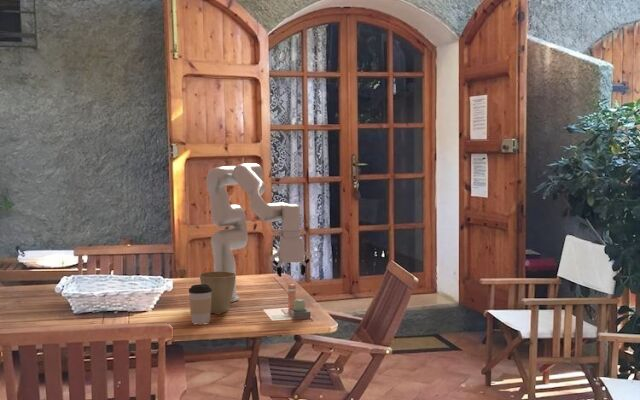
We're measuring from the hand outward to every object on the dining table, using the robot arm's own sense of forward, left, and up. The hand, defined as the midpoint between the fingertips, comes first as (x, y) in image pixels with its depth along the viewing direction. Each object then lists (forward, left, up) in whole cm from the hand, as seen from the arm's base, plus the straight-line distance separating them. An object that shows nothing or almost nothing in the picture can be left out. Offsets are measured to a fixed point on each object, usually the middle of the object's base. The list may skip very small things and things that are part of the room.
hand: (291, 275), depth 307 cm
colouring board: (-3, -3, -16) cm, 16 cm away
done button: (+1, -10, -13) cm, 17 cm away
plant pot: (-29, +11, -16) cm, 35 cm away
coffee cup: (-38, -5, -16) cm, 41 cm away
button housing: (+1, -10, -15) cm, 18 cm away
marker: (0, 0, -15) cm, 15 cm away
